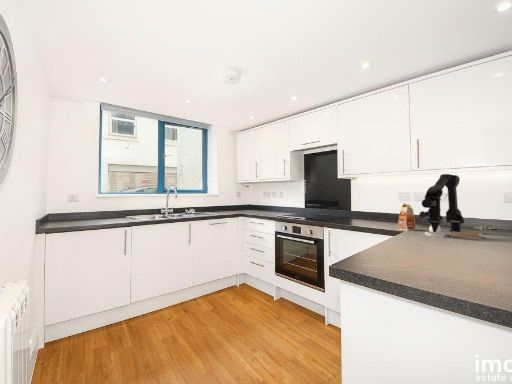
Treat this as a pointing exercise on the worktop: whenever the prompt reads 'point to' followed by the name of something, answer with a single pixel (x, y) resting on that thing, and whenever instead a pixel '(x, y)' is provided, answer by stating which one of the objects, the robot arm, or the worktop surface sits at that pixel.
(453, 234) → the tray
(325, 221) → the worktop surface
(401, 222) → the milk carton
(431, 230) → the egg
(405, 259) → the worktop surface
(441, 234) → the white faceted hoop
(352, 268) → the worktop surface
